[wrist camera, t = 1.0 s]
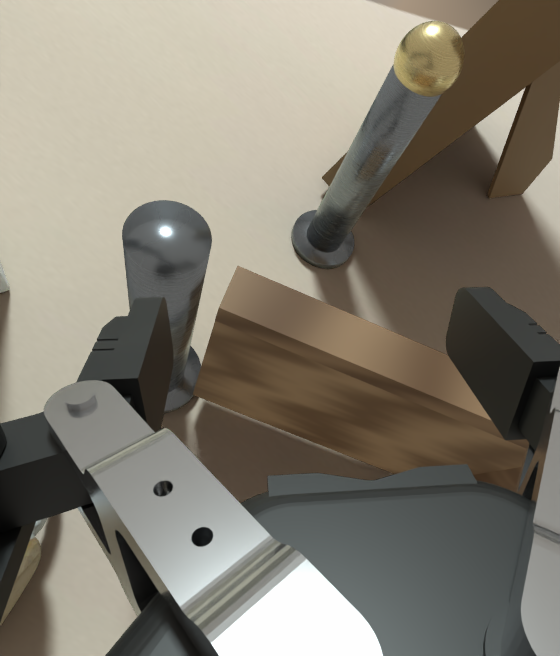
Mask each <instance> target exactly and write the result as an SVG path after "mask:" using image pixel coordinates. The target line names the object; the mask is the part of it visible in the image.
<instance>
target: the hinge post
mask: <svg viewBox="0 0 560 656" xmlns="http://www.w3.org/2000/svg"><path fill="white" fill-rule="evenodd" d="M122 238H123V248H124V258H125V268H126V278H127V287H128V297H129V307H130V310H131V307H132V305H133V302H134V300H135V298H144V297H165V299H166V303H167V309H168V316H169V322H170V329H171V336H172V343H173V354H174V362H173V370H172V375H171V380H170V385H169V390H168V395H167V400H166V404H165V409H164V413H167V412H171V411H174V410H176V409H179V408H180V407H182V406H184V405H185V404H186V403H188V402H189V401H190V399H191V398H192V397H193V396H194V395H193V392H194V388H195V385H196V382H197V379H198V375H199V372H200V369H201V364H200V361H199V358H198V356H197V354H196V352H195V351H194V349H193V348H192V347H191V346H190V344H191V339H192V335H193V330H194V325H195V320H196V316H197V311H198V306H199V302H200V297H201V292H202V287H203V283H204V278H205V273H206V268H207V264H208V259H209V254H210V249H211V243H212V236H211V231H210V229H209V226H208V224H207V223H206V221H205V220H204V218H203V217H202V216H201V215H200V214H199V213H198V212H197V211H195V210H194V209H192V208H190V207H189V206H187V205H184V204H182V203H178V202H174V201H166V200H162V201H153V202H149V203H146V204H144V205H142V206H140V207H138V208H137V209H135V210H134V211H133V212H132V213H131V214H130V215H129V216H128V218H127V219H126V221H125V223H124V226H123V231H122Z"/></svg>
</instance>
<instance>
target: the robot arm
mask: <svg viewBox="0 0 560 656" xmlns="http://www.w3.org/2000/svg"><path fill="white" fill-rule="evenodd" d="M446 348H447V353H448V356H449V358H450V359H451V361H452V362H453V364H454V365H455V367H456V368H457V370H458V371H459V373H460V374H461V376H462V377H463V379H464V380H465V381H466V383H467V384H468V386H469V387H470V389H471V390H472V392H473V393H474V395H475V396H476V398H477V399H478V401H479V402H480V404H481V405H482V407H483V408H484V410H485V411H486V413H487V414H488V416H489V417H490V419H491V420H492V422H493V423H494V425H495V426H496V428H497V429H498V431H499V432H500V434H501V435H502V437H503V438H504V440H522V439H527V441H528V442H529V444H528V447H527V449H526V452H525V454H524V458H523V462H522V466H521V470H520V474H519V478H518V482H517V486H516V490H515V492H513V491H511V490H509V489H506V488H503V487H500V486H498V485H495V484H491V483H487V482H483V481H478V480H476V479H475V477H474V476H473V474H472V472H471V470H470V468H469V466H468V465H467V464H461V465H444V466H427V467H418V468H414V469H411V470H408V471H404V472H401V473H398V474H394V475H391V476H388V477H384V478H381V479H378V480H371V481H370V480H362V479H355V478H348V477H342V476H335V475H328V474H321V473H308V474H291V475H274V476H268V492H266V493H262V494H259V495H257V496H254V497H252V498H250V499H247V500H246V501H244V502H242V503H239V502H238V501H237V500H236V499H235V497H234V496H233V495H232V494H231V493H230V492H229V491H228V490H227V489H226V488H225V487H224V486H223V485H222V484H221V483H220V482H219V481H218V480H217V479H216V478H215V476H214V475H213V474H212V473H211V472H210V471H209V470H208V469H207V468H206V467H205V466H204V465H203V464H202V463H201V462H200V461H199V460H198V459H197V458H196V457H195V455H194V454H193V453H192V452H191V451H190V450H189V449H188V448H187V447H186V446H185V445H184V444H183V443H182V442H181V441H180V440H179V439H178V438H177V437H176V435H175V434H174V433H173V432H171V431H170V430H169V429H167V428H162V429H161V424H162V419H163V414H164V409H165V404H166V400H167V395H168V390H169V385H170V380H171V375H172V370H173V362H174V354H173V343H172V336H171V329H170V322H169V316H168V309H167V303H166V299H165V297H144V298H135V300H134V302H133V305H132V307H131V310H130V312H129V314H128V316H120V317H115V318H114V319H113V320H111V321H110V322H109V323H108V324H106V325H105V326H104V327H103V328H102V330H101V332H100V334H99V336H98V338H97V342H96V343H95V345H94V347H93V349H92V352H91V353H90V355H89V357H88V359H87V361H86V363H85V365H84V367H83V369H82V371H81V374H80V376H79V378H78V380H77V382H76V383H74V384H71V385H68V386H66V387H64V388H62V389H60V390H59V391H57V392H56V393H54V394H53V395H52V396H51V397H50V398H49V399H48V401H47V402H46V404H45V406H44V412H41V413H39V414H35V415H32V416H28V417H24V418H20V419H17V420H13V421H9V422H5V423H1V424H0V622H1V619H2V616H3V614H4V611H5V608H6V605H7V602H8V600H9V597H10V594H11V591H12V588H13V586H14V583H15V580H16V577H17V574H18V572H19V569H20V566H21V563H22V560H23V558H24V555H25V552H26V549H27V546H28V543H29V541H30V538H31V535H32V532H33V529H34V527H35V524H36V521H39V520H42V519H45V518H48V517H51V516H54V515H57V514H60V513H63V512H66V511H69V510H72V509H75V508H78V509H79V511H80V513H81V514H82V516H83V518H84V519H85V521H86V523H87V525H88V526H89V528H90V530H91V531H92V533H93V535H94V536H95V538H96V540H97V541H98V543H99V545H100V546H101V548H102V550H103V552H104V553H105V555H106V557H107V558H108V560H109V562H110V563H111V565H112V567H113V569H114V571H115V572H116V574H117V577H118V579H119V581H120V583H121V586H122V588H123V590H124V592H125V594H126V596H127V598H128V600H129V602H130V604H131V606H132V608H133V610H134V611H135V613H136V615H137V616H138V617H137V618H136V619H135V621H134V622H133V623H132V624H131V625H130V627H129V628H128V629H127V630H126V631H125V633H124V634H123V635H122V636H121V637H120V639H119V640H118V641H117V642H116V643H115V645H114V646H113V647H112V648H111V649H110V651H109V652H108V653H107V654H106V655H105V656H560V344H558V343H557V342H556V341H555V340H554V339H553V338H552V337H551V336H550V335H549V334H546V331H545V330H543V329H542V328H541V327H540V326H539V325H538V326H537V323H536V322H535V321H534V320H533V319H532V318H531V317H530V316H529V315H527V314H526V313H525V312H523V311H521V310H520V309H518V308H516V307H514V306H512V305H510V304H507V303H506V302H505V301H504V300H503V299H502V298H501V297H500V296H499V295H498V294H497V293H496V292H495V291H494V290H493V289H491V288H490V287H471V288H460V289H459V290H458V292H457V294H456V297H455V301H454V305H453V309H452V314H451V318H450V322H449V327H448V331H447V336H446Z"/></svg>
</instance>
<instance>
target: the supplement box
mask: <svg viewBox="0 0 560 656" xmlns="http://www.w3.org/2000/svg"><path fill="white" fill-rule="evenodd" d="M9 289H10V288H9V284H8V281H7V278H6V276H5V273H4V270H3V267H2V265H1V262H0V293H1V292H5V291H7V290H9Z"/></svg>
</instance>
